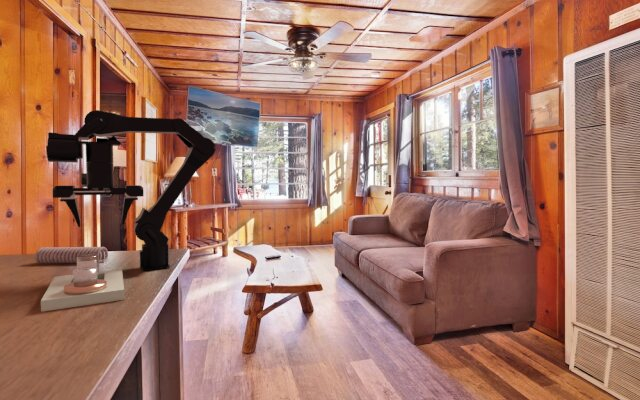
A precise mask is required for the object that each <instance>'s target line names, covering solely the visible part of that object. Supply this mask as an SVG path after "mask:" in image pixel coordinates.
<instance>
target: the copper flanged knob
mask: <svg viewBox="0 0 640 400" xmlns="http://www.w3.org/2000/svg"><path fill="white" fill-rule="evenodd" d="M72 275H73V283H69V284H67V285H65V286H64V293H65V294H68V295H82V294H89V293H94V292H98V291H101V290H103V289H105V288H106V287H107V283H106V280H102V279H98V276H97V267H82V268H77V267H76V268H74V269H73V270H72Z"/></svg>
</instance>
